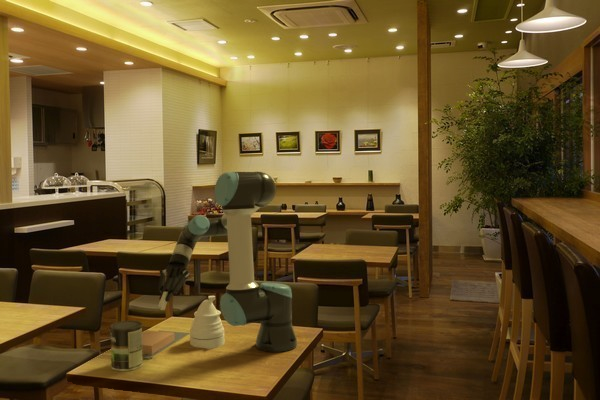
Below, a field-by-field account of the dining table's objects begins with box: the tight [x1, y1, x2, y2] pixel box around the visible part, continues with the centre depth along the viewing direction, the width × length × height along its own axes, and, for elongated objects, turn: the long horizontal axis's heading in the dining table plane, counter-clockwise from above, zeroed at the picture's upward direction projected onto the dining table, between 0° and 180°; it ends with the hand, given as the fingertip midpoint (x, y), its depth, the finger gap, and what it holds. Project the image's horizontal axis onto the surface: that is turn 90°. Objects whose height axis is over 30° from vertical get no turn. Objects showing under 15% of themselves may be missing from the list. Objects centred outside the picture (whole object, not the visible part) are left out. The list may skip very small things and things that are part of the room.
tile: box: [142, 330, 174, 355], centre depth 206 cm, size 3×12×16 cm
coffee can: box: [109, 320, 144, 372], centre depth 187 cm, size 10×10×14 cm
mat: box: [142, 330, 190, 360], centre depth 209 cm, size 30×14×1 cm, turn 164°
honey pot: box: [189, 295, 226, 350], centre depth 210 cm, size 13×13×18 cm
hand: (161, 308), depth 214 cm, fingers closed
